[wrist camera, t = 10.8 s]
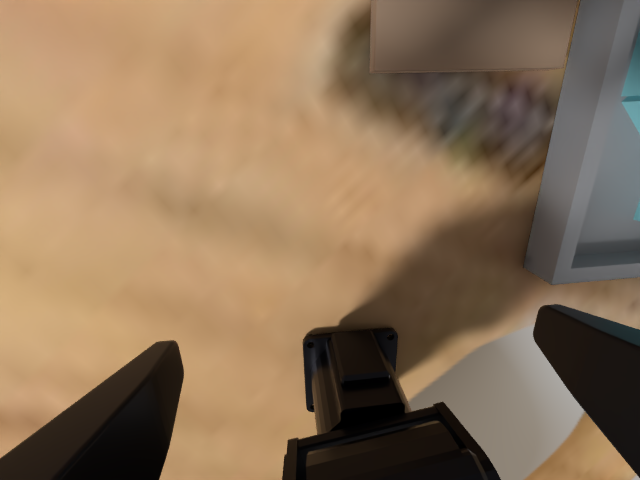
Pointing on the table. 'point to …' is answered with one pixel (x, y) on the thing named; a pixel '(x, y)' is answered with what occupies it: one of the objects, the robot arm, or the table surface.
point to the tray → (591, 158)
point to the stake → (469, 35)
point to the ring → (633, 96)
